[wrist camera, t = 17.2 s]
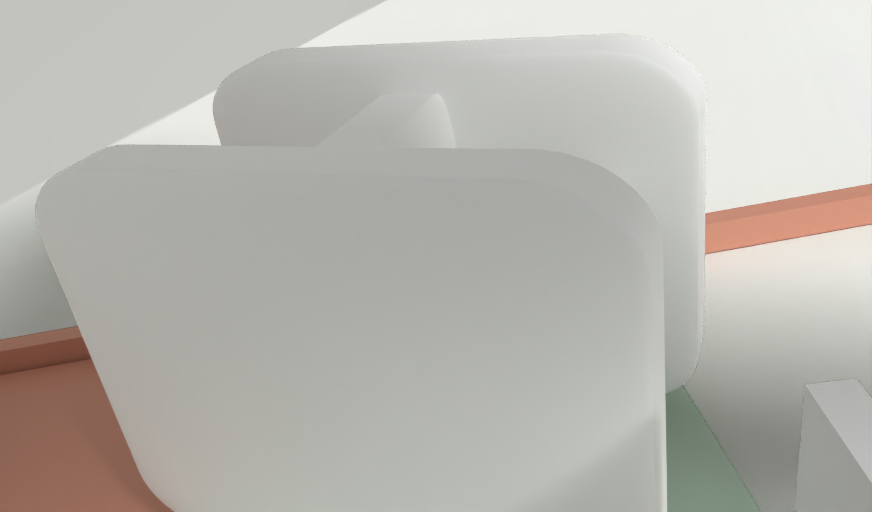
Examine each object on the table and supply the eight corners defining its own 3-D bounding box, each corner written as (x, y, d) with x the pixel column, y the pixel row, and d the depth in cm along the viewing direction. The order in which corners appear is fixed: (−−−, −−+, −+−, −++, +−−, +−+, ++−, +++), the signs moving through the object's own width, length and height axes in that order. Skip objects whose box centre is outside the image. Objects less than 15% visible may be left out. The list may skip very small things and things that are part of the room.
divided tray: (970, 194, 36) (975, 165, 36) (1763, 652, 16) (1808, 604, 15) (-64, 380, 35) (-78, 353, 35) (-609, 1122, 15) (-667, 1092, 14)
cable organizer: (135, 534, 24) (-26, 169, 19) (313, 332, 32) (237, 39, 27) (657, 668, 18) (645, 189, 13) (711, 379, 26) (717, 14, 21)
